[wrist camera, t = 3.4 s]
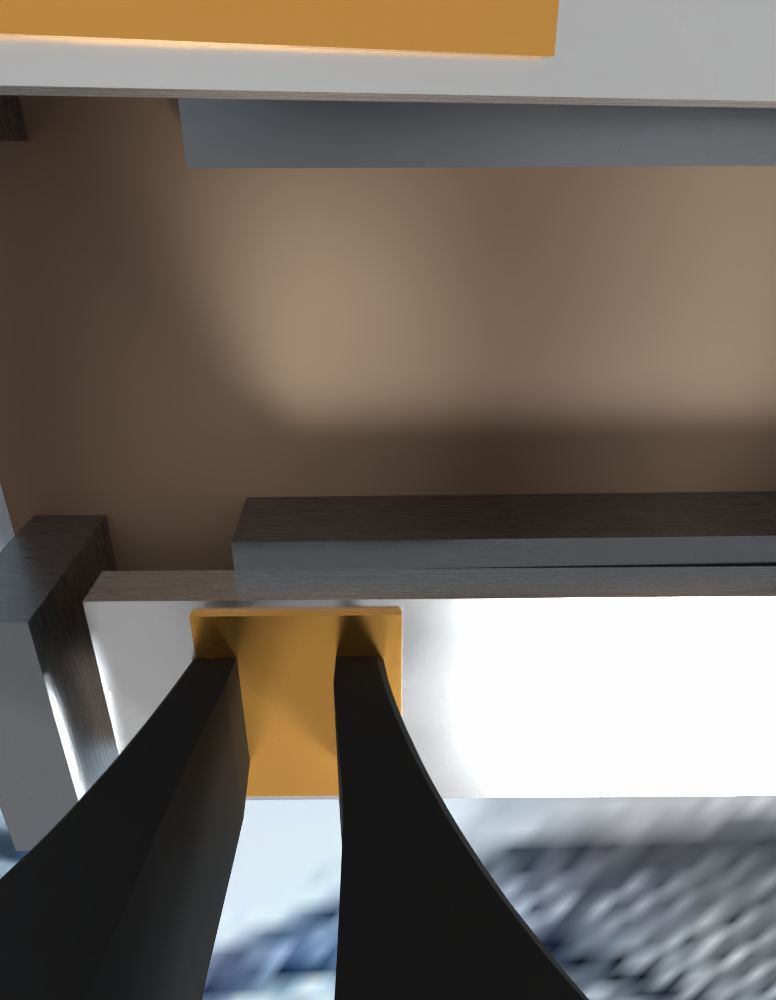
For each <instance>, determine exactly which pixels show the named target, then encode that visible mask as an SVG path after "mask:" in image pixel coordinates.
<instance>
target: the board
mask: <svg viewBox="0 0 776 1000" xmlns="http://www.w3.org/2000/svg"><path fill="white" fill-rule="evenodd" d="M19 98H20V103H21V108H22V113H23V118H24V122H25V127H26V132H27V137H28V141H0V482H1V486H2V490H3V493H4V497H5V501H6V504H7V508H8V511H9V515H10V519H11V522H12V526H13V530H14V533H15V536H16V535H17V533H18V532H19V531H20V530H21V529H22V528H23V527H24V526H25V525H26V524H27V523H28V521H29V520H30V519H31V518H32V517H33V516H47V515H106V519H107V524H108V528H109V533H110V538H111V543H112V548H113V553H114V557H115V562H116V567H117V571H190V570H234V563H233V555H232V547H231V541H232V538H233V535H234V533H235V530H236V527H237V524H238V521H239V519H240V516H241V513H242V510H243V508H244V505H245V502H246V499H247V497H307V496H394V495H481V494H568V493H655V492H742V491H776V166H660V167H449V168H237V169H186V161H185V153H184V145H183V136H182V128H181V119H180V111H179V103H178V98H139V97H79V96H19Z"/></svg>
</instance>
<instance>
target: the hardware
mask: <svg viewBox="0 0 776 1000" xmlns="http://www.w3.org/2000/svg"><path fill="white" fill-rule="evenodd" d="M178 103H179V111H180V119H181V128H182V136H183V145H184V153H185V161H186V169H237V168H449V167H660V166H776V108H740V107H680V106H620V105H560V104H500V103H440V102H380V101H319V100H259V99H199V98H178ZM0 141H28V137H27V132H26V127H25V122H24V118H23V113H22V108H21V103H20V98H19V95H0ZM231 547H232V555H233V563H234V571H281V570H358V569H462V568H598V567H734V566H776V491H742V492H655V493H568V494H481V495H394V496H307V497H247V499H246V502H245V505H244V508H243V510H242V513H241V516H240V519H239V521H238V524H237V527H236V530H235V533H234V535H233V538H232V541H231ZM102 571H117V567H116V562H115V557H114V553H113V548H112V543H111V538H110V533H109V528H108V524H107V519H106V515H47V516H33V517H32V518H31V519H30V520H29V521H28V523H27V524H26V525H25V526H24V527H23V528H22V529H21V530H20V531H19V532H18V533H17V535H16V536H15V537H14V538H13V539H12V540H11V541H10V542H9V543H8V544H7V545H6V547H5V548H4V549H3V550H2V551H1V552H0V808H1V811H2V814H3V816H4V819H5V822H6V825H7V828H8V830H9V833H10V836H11V839H12V842H13V844H14V847H15V850H16V851H30V850H31V849H32V848H33V847H34V846H35V845H36V844H37V843H38V842H39V841H40V840H41V839H42V838H43V837H44V836H45V835H46V834H47V833H48V832H49V831H50V830H51V829H52V828H53V827H54V826H55V825H56V824H57V823H58V822H59V821H60V820H61V819H62V818H63V817H64V816H65V815H66V814H67V813H68V812H69V811H70V809H71V808H72V807H73V806H74V805H75V804H76V803H77V802H78V801H79V800H80V798H81V797H82V796H83V795H84V794H85V793H86V792H87V791H88V790H89V789H90V787H91V786H92V785H93V784H94V783H95V782H96V781H97V780H98V779H99V777H100V776H101V775H102V774H103V773H104V772H105V771H106V770H107V769H108V767H109V766H110V765H111V764H112V763H113V762H114V760H115V759H116V758H117V757H118V756H119V753H118V749H117V744H116V740H115V736H114V732H113V728H112V723H111V719H110V715H109V711H108V707H107V702H106V698H105V694H104V690H103V686H102V682H101V677H100V673H99V669H98V665H97V661H96V656H95V652H94V648H93V644H92V640H91V635H90V631H89V627H88V623H87V619H86V614H85V610H84V606H83V600H84V599H85V597H86V596H87V594H88V593H89V591H90V589H91V588H92V586H93V585H94V583H95V582H96V580H97V579H98V577H99V576H100V574H101V573H102Z"/></svg>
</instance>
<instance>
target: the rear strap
mask: <svg viewBox="0 0 776 1000" xmlns="http://www.w3.org/2000/svg"><path fill="white" fill-rule="evenodd" d="M83 606H84V610H85V614H86V619H87V623H88V627H89V631H90V635H91V640H92V644H93V648H94V652H95V656H96V661H97V665H98V669H99V673H100V677H101V682H102V686H103V690H104V694H105V698H106V702H107V707H108V711H109V715H110V719H111V723H112V728H113V732H114V736H115V740H116V744H117V749H118V753H119V754H120V753H121V752H122V751H123V750H124V748H125V747H126V746H127V745H128V743H129V742H130V741H131V740H132V739H133V737H134V736H135V735H136V734H137V733H138V731H139V730H140V729H141V728H142V726H143V725H144V724H145V723H146V722H147V720H148V719H149V718H150V716H151V715H152V714H153V713H154V711H155V710H156V709H157V707H158V706H159V705H160V704H161V702H162V701H163V700H164V698H165V697H166V696H167V694H168V693H169V692H170V690H171V689H172V688H173V686H174V685H175V684H176V682H177V681H178V680H179V678H180V677H181V676H182V674H183V673H184V672H185V670H186V669H187V667H188V666H189V665H190V663H191V662H192V661H193V660H194V659H195V658H237V662H238V670H239V678H240V686H241V694H242V702H243V710H244V718H245V726H246V734H247V742H248V750H249V758H250V766H249V775H248V784H247V793H246V800H305V799H339V786H338V766H337V746H336V726H335V706H334V686H333V683H334V671H335V661H336V656H378V657H379V658H381V659H382V660H383V661H384V663H385V668H386V672H387V677H388V680H389V684H390V687H391V690H392V693H393V696H394V698H395V701H396V704H397V706H398V709H399V712H400V714H401V717H402V719H403V721H404V724H405V726H406V728H407V731H408V733H409V735H410V737H411V739H412V741H413V743H414V746H415V748H416V750H417V752H418V754H419V756H420V758H421V760H422V762H423V764H424V766H425V768H426V770H427V772H428V774H429V776H430V778H431V780H432V782H433V784H434V785H435V787H436V789H437V791H438V792H439V794H440V796H441V798H526V797H637V796H748V795H776V566H734V567H598V568H462V569H358V570H281V571H234V570H190V571H102V573H101V574H100V576H99V577H98V579H97V580H96V582H95V583H94V585H93V586H92V588H91V589H90V591H89V593H88V594H87V596H86V597H85V599H84V600H83Z"/></svg>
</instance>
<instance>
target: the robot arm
mask: <svg viewBox="0 0 776 1000" xmlns="http://www.w3.org/2000/svg"><path fill="white" fill-rule="evenodd" d="M333 686H334V706H335V726H336V746H337V766H338V786H339V806H340V822H341V837H342V861H341V884H340V905H339V926H338V947H337V965H336V984H335V1000H589V999H588V998H587V997H586V996H585V995H584V993H583V992H582V991H581V990H580V989H579V988H578V987H577V985H576V984H575V983H574V982H573V981H572V980H571V978H570V977H569V976H568V975H567V974H566V973H565V972H564V970H563V969H562V968H561V967H560V966H559V964H558V963H557V962H556V961H555V959H554V958H553V957H552V955H551V954H550V953H549V952H548V950H547V949H546V948H545V947H544V945H543V944H542V943H541V942H540V940H539V939H538V938H537V936H536V935H535V934H534V933H533V931H532V930H531V929H530V928H529V926H528V925H527V924H526V923H525V921H524V920H523V919H522V918H521V916H520V915H519V914H518V912H517V911H516V910H515V909H514V907H513V906H512V905H511V904H510V902H509V901H508V899H507V898H506V897H505V895H504V894H503V892H502V891H501V890H500V888H499V887H498V885H497V884H496V883H495V881H494V880H493V878H492V877H491V875H490V874H489V873H488V871H487V870H486V868H485V867H484V866H483V864H482V862H481V861H480V859H479V858H478V856H477V855H476V853H475V852H474V850H473V849H472V847H471V846H470V844H469V843H468V841H467V840H466V838H465V837H464V835H463V833H462V832H461V830H460V829H459V827H458V825H457V824H456V822H455V820H454V819H453V817H452V815H451V814H450V812H449V810H448V809H447V807H446V805H445V803H444V801H443V800H442V798H441V796H440V794H439V792H438V791H437V789H436V787H435V785H434V784H433V782H432V780H431V778H430V776H429V774H428V772H427V770H426V768H425V766H424V764H423V762H422V760H421V758H420V756H419V754H418V752H417V750H416V748H415V746H414V743H413V741H412V739H411V737H410V735H409V733H408V731H407V728H406V726H405V724H404V721H403V719H402V717H401V714H400V712H399V709H398V706H397V704H396V701H395V698H394V696H393V693H392V690H391V687H390V684H389V680H388V677H387V672H386V668H385V663H384V661H383V660H382V659H381V658H379V657H378V656H336V661H335V671H334V683H333ZM249 766H250V758H249V750H248V742H247V734H246V726H245V718H244V710H243V702H242V694H241V686H240V678H239V670H238V662H237V658H195V659H194V660H193V661H192V662H191V663H190V665H189V666H188V667H187V669H186V670H185V672H184V673H183V674H182V676H181V677H180V678H179V680H178V681H177V682H176V684H175V685H174V686H173V688H172V689H171V690H170V692H169V693H168V694H167V696H166V697H165V698H164V700H163V701H162V702H161V704H160V705H159V706H158V707H157V709H156V710H155V711H154V713H153V714H152V715H151V716H150V718H149V719H148V720H147V722H146V723H145V724H144V725H143V726H142V728H141V729H140V730H139V731H138V733H137V734H136V735H135V736H134V737H133V739H132V740H131V741H130V742H129V743H128V745H127V746H126V747H125V748H124V750H123V751H122V752H121V753H120V754H119V756H118V757H117V758H116V759H115V760H114V762H113V763H112V764H111V765H110V766H109V767H108V769H107V770H106V771H105V772H104V773H103V774H102V775H101V776H100V777H99V779H98V780H97V781H96V782H95V783H94V784H93V785H92V786H91V787H90V789H89V790H88V791H87V792H86V793H85V794H84V795H83V796H82V797H81V798H80V800H79V801H78V802H77V803H76V804H75V805H74V806H73V807H72V808H71V809H70V811H69V812H68V813H67V814H66V815H65V816H64V817H63V818H62V819H61V820H60V821H59V822H58V823H57V824H56V825H55V826H54V827H53V828H52V829H51V830H50V831H49V832H48V833H47V834H46V835H45V836H44V837H43V838H42V839H41V840H40V841H39V842H38V843H37V844H36V845H35V846H34V847H33V848H32V849H31V850H30V851H29V852H28V853H27V854H26V855H25V856H24V857H23V858H22V859H21V860H20V861H19V862H18V863H17V864H16V865H15V866H13V867H12V868H11V869H10V870H9V871H8V872H7V873H6V874H5V875H4V876H3V877H2V878H1V879H0V1000H202V998H203V992H204V987H205V982H206V977H207V972H208V968H209V964H210V959H211V955H212V951H213V947H214V942H215V938H216V934H217V930H218V925H219V921H220V917H221V913H222V908H223V904H224V900H225V896H226V891H227V887H228V883H229V879H230V874H231V870H232V866H233V861H234V857H235V853H236V848H237V844H238V840H239V835H240V831H241V826H242V822H243V817H244V809H245V801H246V793H247V784H248V775H249Z"/></svg>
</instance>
